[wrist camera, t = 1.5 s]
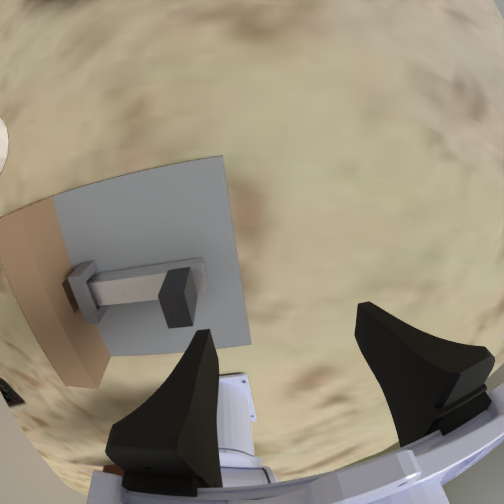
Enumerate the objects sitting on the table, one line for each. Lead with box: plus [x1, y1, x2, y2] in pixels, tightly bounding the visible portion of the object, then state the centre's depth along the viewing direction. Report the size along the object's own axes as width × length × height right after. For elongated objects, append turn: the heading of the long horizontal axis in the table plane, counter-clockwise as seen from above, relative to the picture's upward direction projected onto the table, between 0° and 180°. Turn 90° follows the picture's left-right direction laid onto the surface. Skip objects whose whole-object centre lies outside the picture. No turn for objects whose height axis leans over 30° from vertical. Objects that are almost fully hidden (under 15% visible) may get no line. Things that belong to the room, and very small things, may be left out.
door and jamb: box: [0, 155, 251, 388], centre depth 19 cm, size 18×16×6 cm
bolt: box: [86, 258, 208, 329], centre depth 18 cm, size 10×2×5 cm, turn 97°
